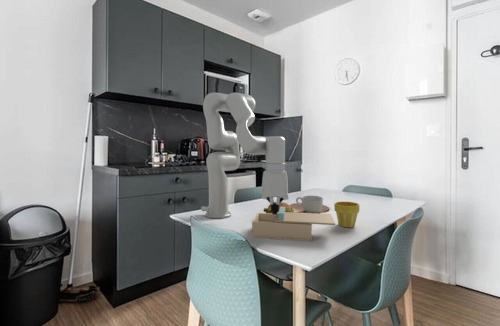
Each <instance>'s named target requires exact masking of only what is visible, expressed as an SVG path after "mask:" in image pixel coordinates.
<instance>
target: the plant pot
mask: <svg viewBox="0 0 500 326" xmlns="http://www.w3.org/2000/svg"><path fill="white" fill-rule="evenodd" d="M333 209H334V212H335V213H336V218H337V222H338V226H339V227H343V228H347V229H349V228H354V227H355V226H356V222H357V218H358V213H360V204H359V203H357V202H353V201H336V202H334V208H333Z"/></svg>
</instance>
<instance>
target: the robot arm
mask: <svg viewBox="0 0 500 326" xmlns="http://www.w3.org/2000/svg"><path fill="white" fill-rule="evenodd" d="M202 109H203V114H204V118H205V120H206V121H205V123H206V132H207V133H206V136H207V144H208V146H209V148H210V149H212V150H225V151H216V152H214V151H213V152H212V153H209V154H208V156H207V157H206V161H205V162H206V167H207V174H208V175H207V176H208V205H207V206H201V207H200V210H201V211H202V212H205V217H207V218H208V219H209V218H210V219H226V218H229V217H231V216H232V212H231V211H229V180H228V177H227V174H226V173H225V172H228V171H230V172H231V171H235V170H237V169H239V167H240V164H241V156H240V155H241V154H240V148H241V149H242V151H244V153H245V154H247V155H251V156H256V155H261V156H262V155H263V156H264V155H265V164H261V168H262V169H265V170H264V171H263V173H262V180H261V181H262V183H261V199H262V200H266V201H267V202H268V203H269V205H270V204H271V212H273V215H274V214H275V215H277V212H279V203H281V202H283V201H286V200H289V199H290V198H289V181H288V179H289V178H288V172H287V171H286V139H285V137H284V136H278V135H277V136H276V135H274V136H262V135H252V134H251V131H250V130H249V127H250V126H251V125H253V124H254V122H255V119H256V117H255V114H254V112H253V111H254V110H255V109H256V100H255V99H254V97H252V95H249V94H245V93H241V92H231V93H229V94H227V93H223V92H209V93H208V94H206V96H205V97H204V100H203V105H202ZM219 112H225V113H230V114H231V116H232V117H233V119H234V121H235V122H236V128H235V132H234V131H233V130H225V123H224V120H223V117H222V115H221V113H219ZM274 198H276V201H275V199H274ZM274 202H276V204H275V203H274Z"/></svg>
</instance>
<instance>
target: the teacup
mask: <svg viewBox="0 0 500 326" xmlns="http://www.w3.org/2000/svg"><path fill="white" fill-rule="evenodd" d="M299 200H301V203H300V202H299ZM323 200H324V198H323V197H322V196H319V195H303V196H302V197H301V196H298V197H296V199H295V202H296V204H297V205H298V206H299V207H301V208H302V209H303V211H305V213H317V214H319V213H320V212H321V211H322V210H323V205H324V204H323V202H324V201H323Z"/></svg>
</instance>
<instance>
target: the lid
mask: <svg viewBox="0 0 500 326" xmlns="http://www.w3.org/2000/svg"><path fill="white" fill-rule="evenodd" d="M274 222H284V223H303V224H312V225H324V226H326V225H327V226H336V222H335V220H334V218H333V215H332V214H331V213H307V212H297V211H296V212H295V211H294V212H285V207H281V206H280V210H279V212H277V215H276V216H275V219H274Z"/></svg>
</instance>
